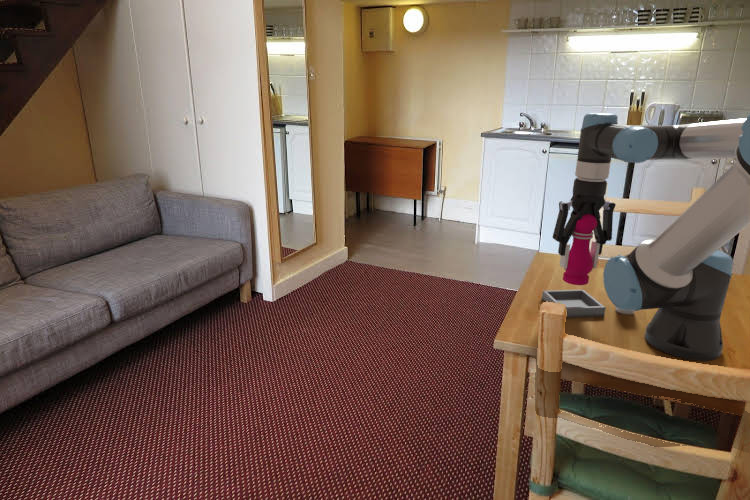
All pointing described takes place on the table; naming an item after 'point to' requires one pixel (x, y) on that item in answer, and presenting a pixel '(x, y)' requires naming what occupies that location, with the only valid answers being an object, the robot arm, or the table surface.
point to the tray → (575, 302)
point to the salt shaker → (624, 311)
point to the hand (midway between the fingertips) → (577, 266)
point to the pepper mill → (580, 252)
